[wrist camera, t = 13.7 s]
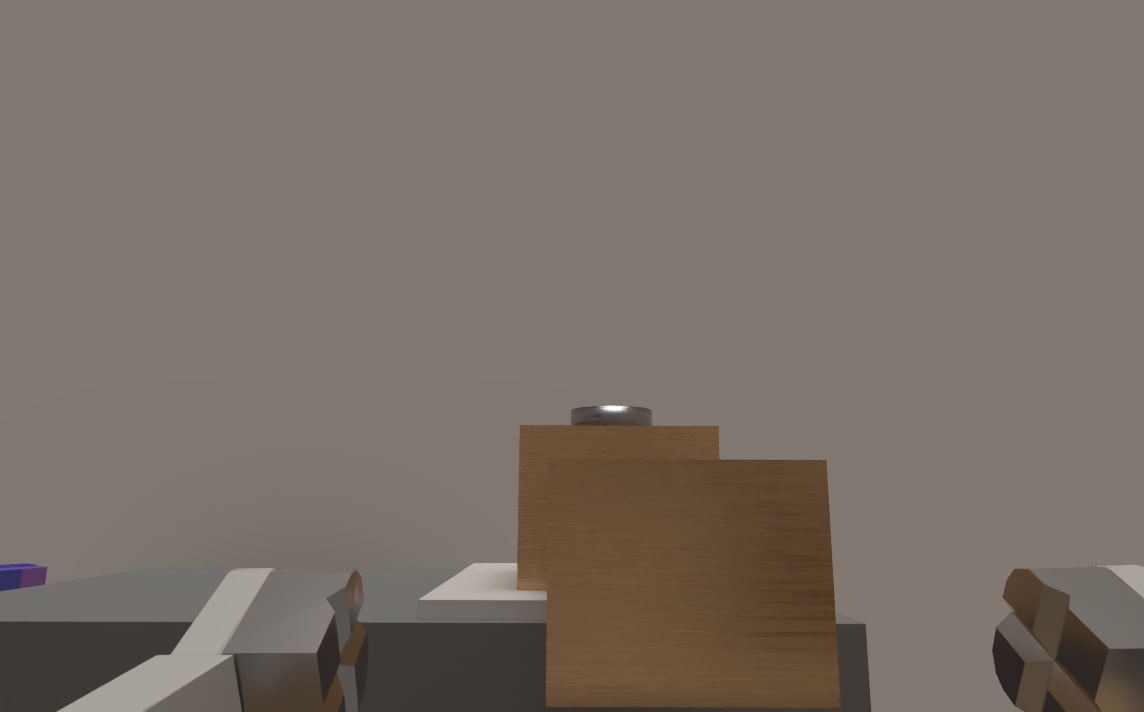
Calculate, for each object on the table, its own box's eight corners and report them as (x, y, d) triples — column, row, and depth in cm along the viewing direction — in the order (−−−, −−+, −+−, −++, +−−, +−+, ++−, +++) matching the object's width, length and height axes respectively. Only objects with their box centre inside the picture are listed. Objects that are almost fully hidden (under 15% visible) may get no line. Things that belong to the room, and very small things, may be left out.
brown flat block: (446, 707, 8) (462, 253, 9) (528, 570, 24) (531, 419, 25) (939, 707, 8) (902, 257, 9) (686, 571, 25) (682, 420, 25)
